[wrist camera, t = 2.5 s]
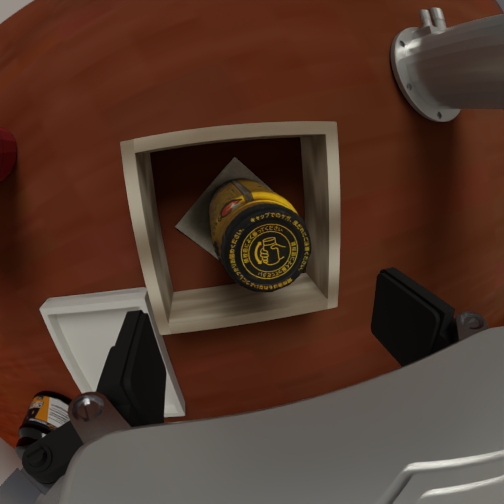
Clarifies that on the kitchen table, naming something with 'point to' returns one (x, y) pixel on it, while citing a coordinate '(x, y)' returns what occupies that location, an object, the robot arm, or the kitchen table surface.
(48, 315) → the tray
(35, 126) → the kitchen table surface
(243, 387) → the kitchen table surface
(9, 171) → the plastic cup
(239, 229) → the condiment
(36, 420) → the supplement container
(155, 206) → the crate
